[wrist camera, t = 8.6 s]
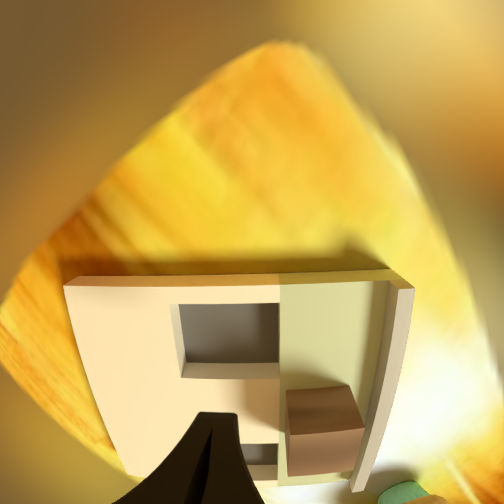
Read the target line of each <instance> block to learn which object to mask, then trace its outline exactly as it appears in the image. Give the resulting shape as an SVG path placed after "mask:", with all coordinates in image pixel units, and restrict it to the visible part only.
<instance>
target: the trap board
mask: <svg viewBox="0 0 504 504" xmlns="http://www.w3.org/2000/svg"><path fill="white" fill-rule="evenodd" d="M63 288H64V293H65V298H66V302H67V307H68V311H69V315H70V319H71V323H72V327H73V331H74V335H75V338H76V342H77V345H78V349H79V352H80V356H81V359H82V362H83V365H84V369H85V372H86V375H87V378H88V381H89V384H90V387H91V389H92V392H93V395H94V398H95V400H96V403H97V406H98V408H99V411H100V414H101V416H102V419H103V421H104V424H105V426H106V428H107V431H108V433H109V435H110V438H111V440H112V442H113V445H114V447H115V449H116V451H117V453H118V455H119V458H120V460H121V462H122V464H123V466H124V468H125V470H126V472H127V474H128V475H133V476H139V477H144V478H147V477H148V476H149V475H150V474H151V473H152V472H153V471H154V470H155V469H156V468H157V467H158V466H159V465H160V463H161V462H162V461H163V460H164V459H165V458H166V457H167V456H168V455H169V453H170V452H171V451H172V450H173V448H174V447H175V446H176V445H177V443H178V442H179V441H180V439H181V438H182V437H183V435H184V434H185V432H186V431H187V430H188V428H189V427H190V425H191V424H192V422H193V420H194V419H195V417H196V415H197V414H198V413H199V412H230V413H236V414H237V415H238V425H239V436H240V445H241V449H242V452H243V456H244V459H245V462H246V465H247V467H248V470H249V472H250V475H251V477H252V479H253V482H254V484H255V486H256V487H273V486H295V485H308V484H319V483H328V482H337V481H344V480H349V483H350V487H351V491H352V493H353V492H359V491H364V488H365V486H366V483H367V481H368V478H369V475H370V473H371V470H372V467H373V465H374V462H375V459H376V456H377V453H378V450H379V447H380V444H381V441H382V438H383V435H384V432H385V428H386V425H387V422H388V418H389V415H390V411H391V408H392V404H393V400H394V397H395V393H396V389H397V385H398V381H399V376H400V372H401V368H402V363H403V358H404V353H405V348H406V343H407V338H408V333H409V327H410V321H411V315H412V308H413V301H414V294H415V288H414V287H413V286H412V285H411V284H410V283H408V282H407V281H406V280H405V279H403V278H402V277H401V276H400V275H398V274H397V273H396V272H395V271H393V270H392V269H376V270H353V271H328V272H300V273H267V274H226V275H167V276H77V277H76V278H74V279H73V280H71V281H70V282H68V283H66V284H65V285H63ZM346 385H349V386H350V388H351V391H352V394H353V396H354V399H355V402H356V404H357V407H358V410H359V413H360V415H361V418H362V421H363V424H364V426H365V430H364V434H363V438H362V441H361V445H360V449H359V453H358V456H357V460H356V463H355V467H354V470H351V471H344V472H337V473H328V474H319V475H308V476H295V477H288V474H287V459H286V445H285V399H286V390H296V389H312V388H325V387H336V386H346Z"/></svg>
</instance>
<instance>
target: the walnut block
mask: <svg viewBox="0 0 504 504" xmlns="http://www.w3.org/2000/svg"><path fill="white" fill-rule="evenodd" d="M364 430H365V426H364V424H363V421H362V418H361V415H360V413H359V410H358V407H357V404H356V402H355V399H354V396H353V394H352V391H351V388H350V386H349V385H346V386H336V387H325V388H312V389H296V390H286V399H285V445H286V459H287V474H288V477H295V476H308V475H319V474H328V473H337V472H344V471H351V470H354V467H355V463H356V460H357V456H358V453H359V449H360V445H361V441H362V438H363V434H364Z"/></svg>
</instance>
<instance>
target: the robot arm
mask: <svg viewBox="0 0 504 504" xmlns="http://www.w3.org/2000/svg"><path fill="white" fill-rule="evenodd" d="M112 504H265V503H264V501H263V500H262V498H261V496H260V494H259V492H258V490H257V488H256V486H255V484H254V482H253V479H252V477H251V475H250V472H249V470H248V467H247V465H246V462H245V459H244V456H243V452H242V449H241V445H240V436H239V425H238V415H237V414H236V413H230V412H199V413H198V414H197V415H196V417H195V419H194V420H193V422H192V424H191V425H190V427H189V428H188V430H187V431H186V432H185V434H184V435H183V437H182V438H181V439H180V441H179V442H178V443H177V445H176V446H175V447H174V448H173V450H172V451H171V452H170V453H169V455H168V456H167V457H166V458H165V459H164V460H163V461H162V462H161V463H160V465H159V466H158V467H157V468H156V469H155V470H154V471H153V472H152V473H151V474H150V475H149V476H148V477H147V478H145V479H144V480H143V481H142V482H141V483H140V484H139V485H137V486H136V487H135V488H133V489H132V490H131V491H130V492H128V493H127V494H126V495H124V496H123V497H121V498H120V499H119V500H117V501H116V502H114V503H112Z"/></svg>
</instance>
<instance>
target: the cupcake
mask: <svg viewBox="0 0 504 504" xmlns="http://www.w3.org/2000/svg"><path fill="white" fill-rule="evenodd" d="M378 504H447V502H446V500H445V499H444V498H443V497H438V496H437V495H430V494H428V493H427V492H426V491H425V490H424V489H423V488H422V487H421V486H420V485H419V484H418V483H417V482H414V481H408V482H403V483H400V484H397V485H395V486H393V487H391V488H389V489H388V490H386V491H385V492H383V493H382V494H381V495H380V497H379V498H378Z"/></svg>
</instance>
